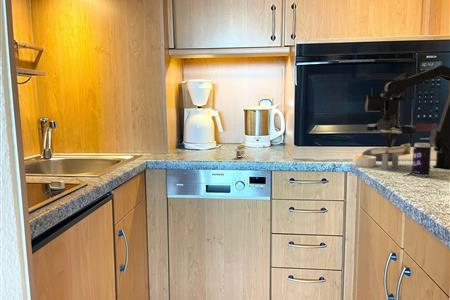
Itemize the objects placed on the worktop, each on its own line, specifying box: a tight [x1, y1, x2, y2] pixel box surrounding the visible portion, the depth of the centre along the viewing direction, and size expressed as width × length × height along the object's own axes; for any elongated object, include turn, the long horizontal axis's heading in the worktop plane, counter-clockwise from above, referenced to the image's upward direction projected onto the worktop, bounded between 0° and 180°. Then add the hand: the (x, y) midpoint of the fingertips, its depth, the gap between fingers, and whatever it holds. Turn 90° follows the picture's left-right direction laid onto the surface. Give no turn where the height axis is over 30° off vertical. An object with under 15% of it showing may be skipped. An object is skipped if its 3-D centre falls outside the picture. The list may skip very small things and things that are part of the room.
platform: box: [233, 144, 247, 157], centre depth 183 cm, size 12×18×7 cm, turn 159°
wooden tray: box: [371, 143, 412, 157], centre depth 147 cm, size 16×13×4 cm
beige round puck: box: [352, 154, 377, 167], centre depth 153 cm, size 9×9×4 cm
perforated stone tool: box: [361, 146, 393, 162], centre depth 167 cm, size 15×5×7 cm, turn 79°
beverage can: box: [411, 142, 432, 178], centre depth 135 cm, size 6×6×12 cm
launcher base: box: [345, 152, 414, 177], centre depth 148 cm, size 14×24×7 cm, turn 42°
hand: (389, 148), depth 156 cm, fingers closed, pressing on wooden tray
